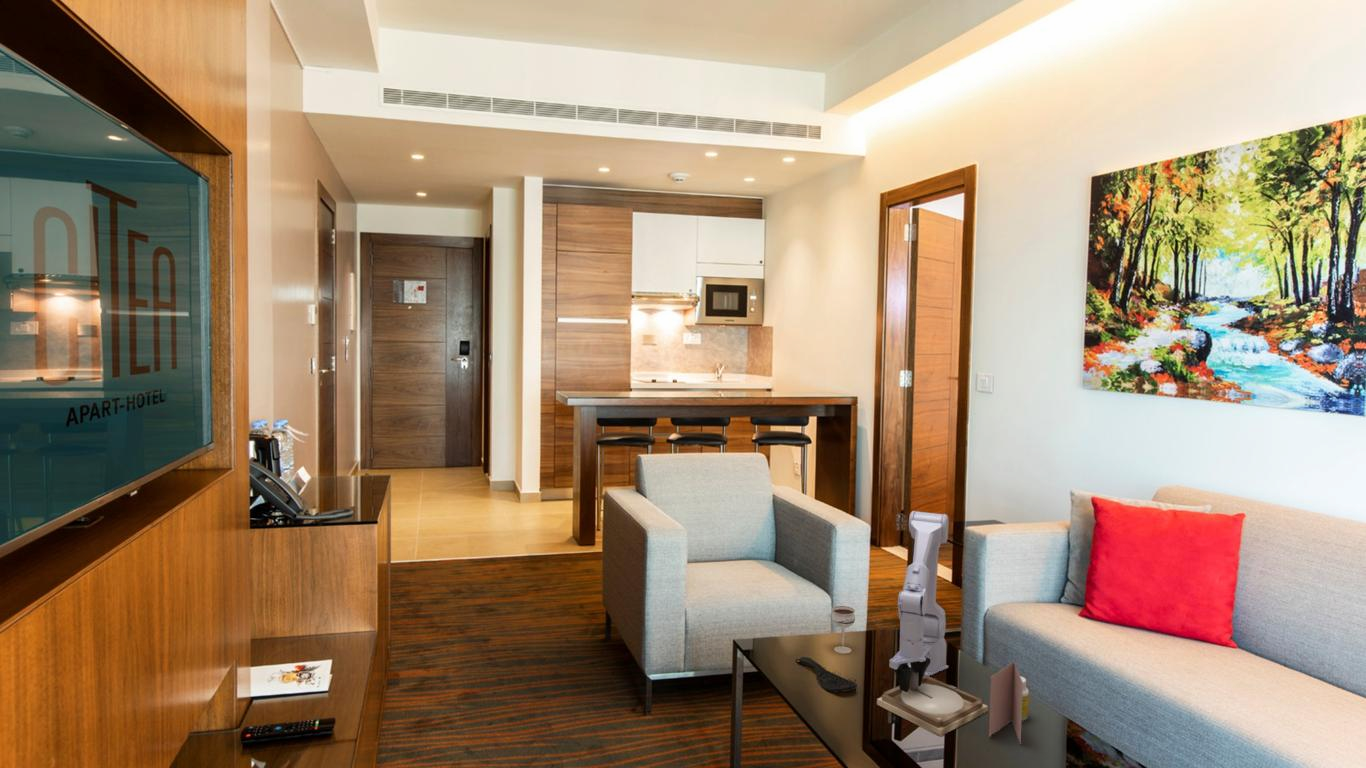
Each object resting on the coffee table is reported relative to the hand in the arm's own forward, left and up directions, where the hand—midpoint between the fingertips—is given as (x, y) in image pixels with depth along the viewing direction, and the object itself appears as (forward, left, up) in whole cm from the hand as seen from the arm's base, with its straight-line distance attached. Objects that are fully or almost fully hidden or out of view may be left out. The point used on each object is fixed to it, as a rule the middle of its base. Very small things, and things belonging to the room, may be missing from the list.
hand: (910, 687), depth 212 cm
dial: (-1, +6, -2) cm, 6 cm away
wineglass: (-9, -31, -4) cm, 32 cm away
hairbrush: (+8, -22, -4) cm, 24 cm away
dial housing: (-1, +6, -3) cm, 7 cm away
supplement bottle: (-14, +21, -4) cm, 25 cm away
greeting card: (-6, +25, -4) cm, 26 cm away
